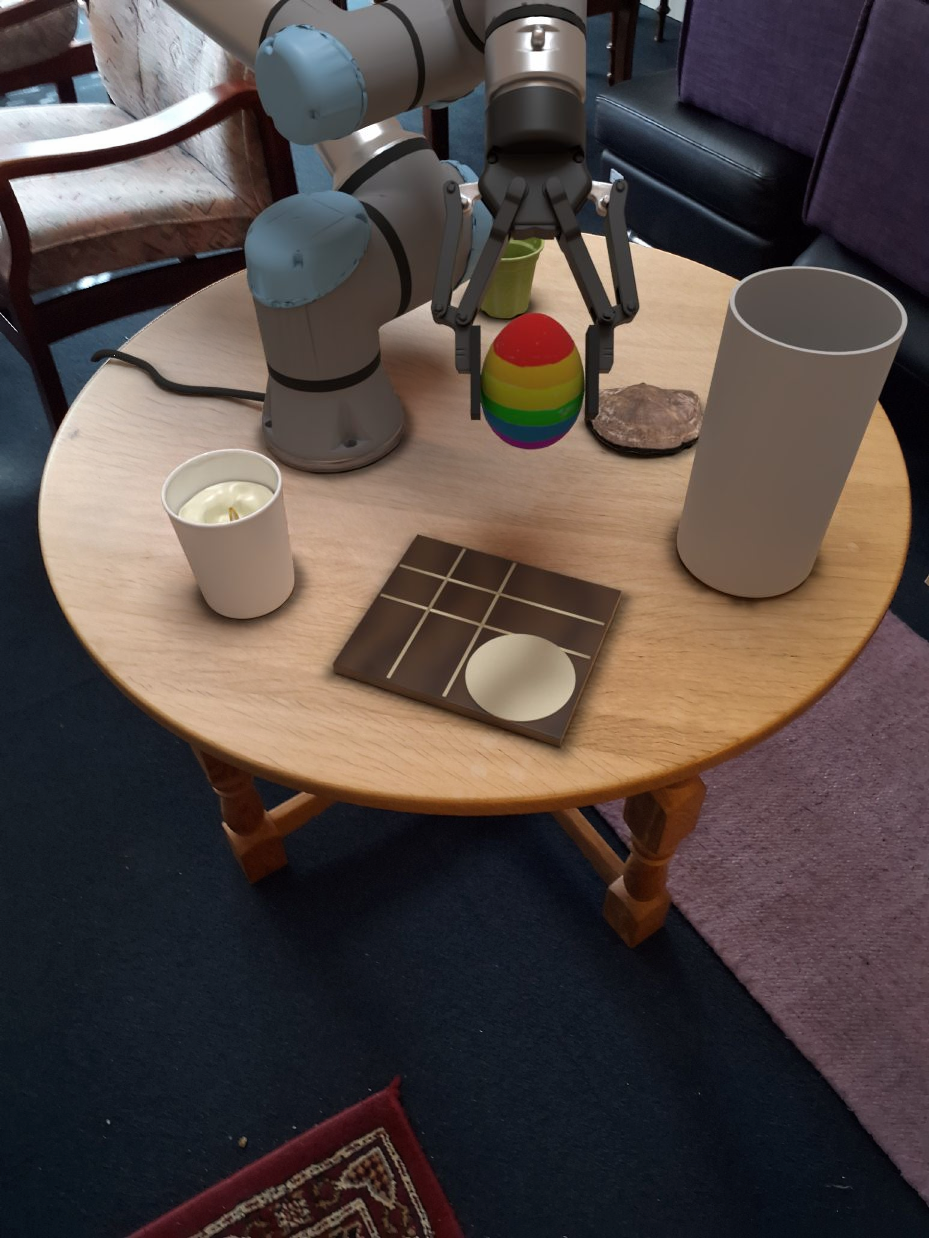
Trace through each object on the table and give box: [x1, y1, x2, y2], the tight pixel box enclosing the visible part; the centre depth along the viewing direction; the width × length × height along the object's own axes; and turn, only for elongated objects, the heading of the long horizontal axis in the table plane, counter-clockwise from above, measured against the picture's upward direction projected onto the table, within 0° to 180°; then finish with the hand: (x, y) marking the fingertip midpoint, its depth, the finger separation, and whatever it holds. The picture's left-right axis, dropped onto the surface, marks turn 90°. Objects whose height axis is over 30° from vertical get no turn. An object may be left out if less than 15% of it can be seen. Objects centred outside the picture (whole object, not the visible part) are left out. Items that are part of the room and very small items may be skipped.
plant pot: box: [480, 237, 546, 319], centre depth 111 cm, size 9×9×9 cm
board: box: [332, 534, 622, 748], centre depth 77 cm, size 20×17×1 cm
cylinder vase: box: [676, 265, 908, 599], centre depth 75 cm, size 12×12×25 cm
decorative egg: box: [481, 312, 585, 451], centre depth 69 cm, size 8×8×10 cm
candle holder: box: [160, 448, 296, 620], centre depth 78 cm, size 10×10×12 cm
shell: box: [586, 382, 704, 455], centre depth 96 cm, size 12×13×4 cm
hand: (533, 416), depth 68 cm, fingers closed on decorative egg, 8 cm apart
